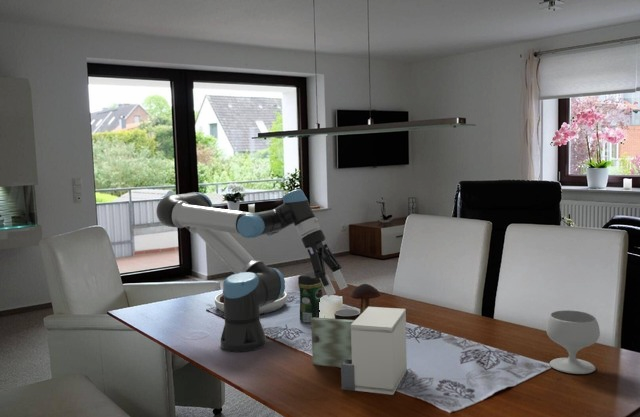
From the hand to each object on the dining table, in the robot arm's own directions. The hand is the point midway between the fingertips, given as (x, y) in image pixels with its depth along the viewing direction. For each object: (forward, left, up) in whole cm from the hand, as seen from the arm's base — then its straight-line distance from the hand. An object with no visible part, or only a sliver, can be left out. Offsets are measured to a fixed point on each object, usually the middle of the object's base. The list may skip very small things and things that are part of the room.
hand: (338, 291), depth 190 cm
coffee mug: (+2, +4, -18) cm, 18 cm away
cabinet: (+20, -26, -18) cm, 37 cm away
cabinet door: (+5, -19, -18) cm, 26 cm away
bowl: (-50, +35, -18) cm, 64 cm away
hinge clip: (+14, -33, -18) cm, 40 cm away
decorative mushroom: (+3, +23, -18) cm, 29 cm away
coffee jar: (-18, +22, -18) cm, 34 cm away
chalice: (+71, -3, -18) cm, 73 cm away
